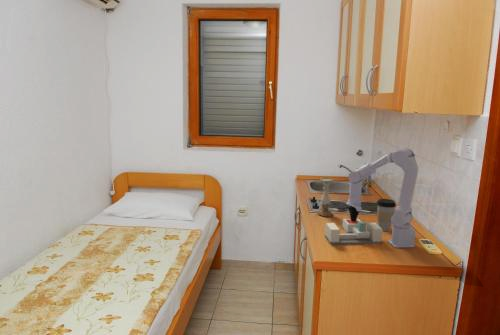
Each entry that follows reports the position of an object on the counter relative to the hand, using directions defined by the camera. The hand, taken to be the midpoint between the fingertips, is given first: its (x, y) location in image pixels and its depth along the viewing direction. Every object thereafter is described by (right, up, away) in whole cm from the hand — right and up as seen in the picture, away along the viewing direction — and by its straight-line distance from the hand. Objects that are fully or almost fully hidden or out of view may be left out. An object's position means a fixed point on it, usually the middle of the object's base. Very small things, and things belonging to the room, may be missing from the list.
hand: (353, 220), depth 197 cm
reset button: (0, -3, +1) cm, 3 cm away
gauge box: (0, -5, +1) cm, 5 cm away
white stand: (-3, -8, -11) cm, 14 cm away
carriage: (+1, -6, -11) cm, 13 cm away
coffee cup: (+17, -5, +4) cm, 18 cm away
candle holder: (-9, 0, +27) cm, 28 cm away
